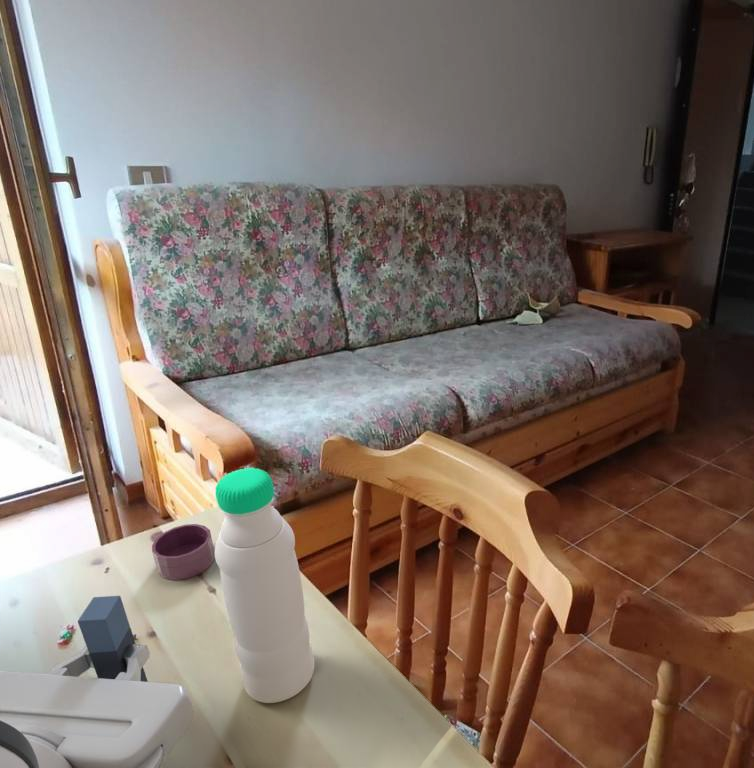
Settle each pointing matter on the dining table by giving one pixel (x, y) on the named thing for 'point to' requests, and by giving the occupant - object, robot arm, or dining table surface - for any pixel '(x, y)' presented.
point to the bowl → (183, 551)
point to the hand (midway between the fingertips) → (120, 647)
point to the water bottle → (262, 588)
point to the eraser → (107, 635)
